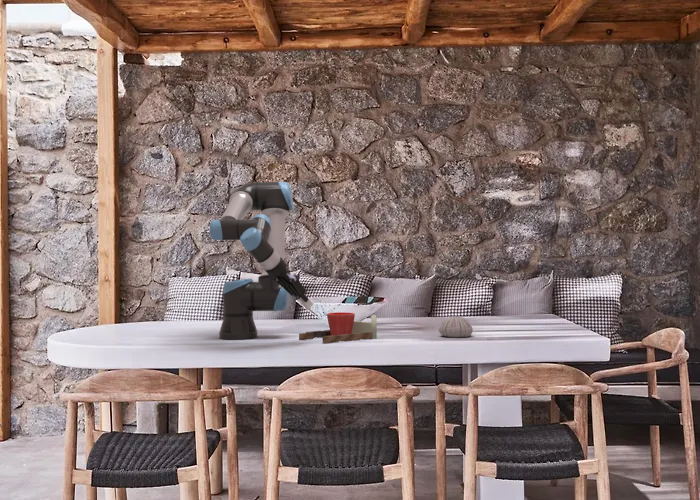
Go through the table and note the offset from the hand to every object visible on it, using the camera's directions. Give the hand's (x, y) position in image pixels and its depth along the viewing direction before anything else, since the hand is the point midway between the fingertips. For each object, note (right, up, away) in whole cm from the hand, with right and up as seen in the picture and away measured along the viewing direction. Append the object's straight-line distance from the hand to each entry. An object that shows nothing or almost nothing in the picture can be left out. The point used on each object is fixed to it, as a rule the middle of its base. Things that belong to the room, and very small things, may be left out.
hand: (310, 306), depth 298 cm
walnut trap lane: (+9, -13, +10) cm, 19 cm away
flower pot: (+12, -14, +13) cm, 22 cm away
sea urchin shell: (+57, -13, +14) cm, 60 cm away
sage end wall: (+19, -13, +16) cm, 28 cm away
